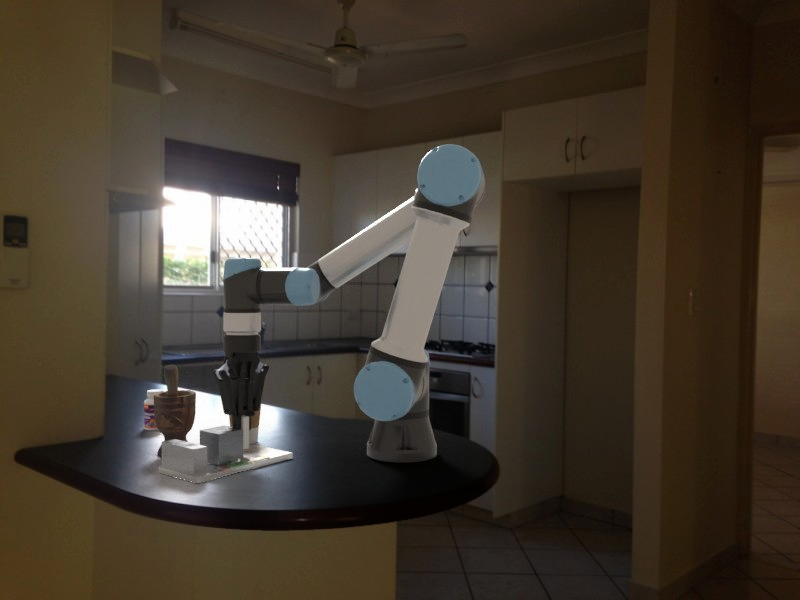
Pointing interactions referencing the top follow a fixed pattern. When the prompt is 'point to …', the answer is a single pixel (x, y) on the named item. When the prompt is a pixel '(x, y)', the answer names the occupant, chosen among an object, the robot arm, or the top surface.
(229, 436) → the grey rectangular block
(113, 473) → the top surface
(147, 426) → the pill bottle
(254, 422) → the coffee cup
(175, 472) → the gauge base
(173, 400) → the mortar and pestle
